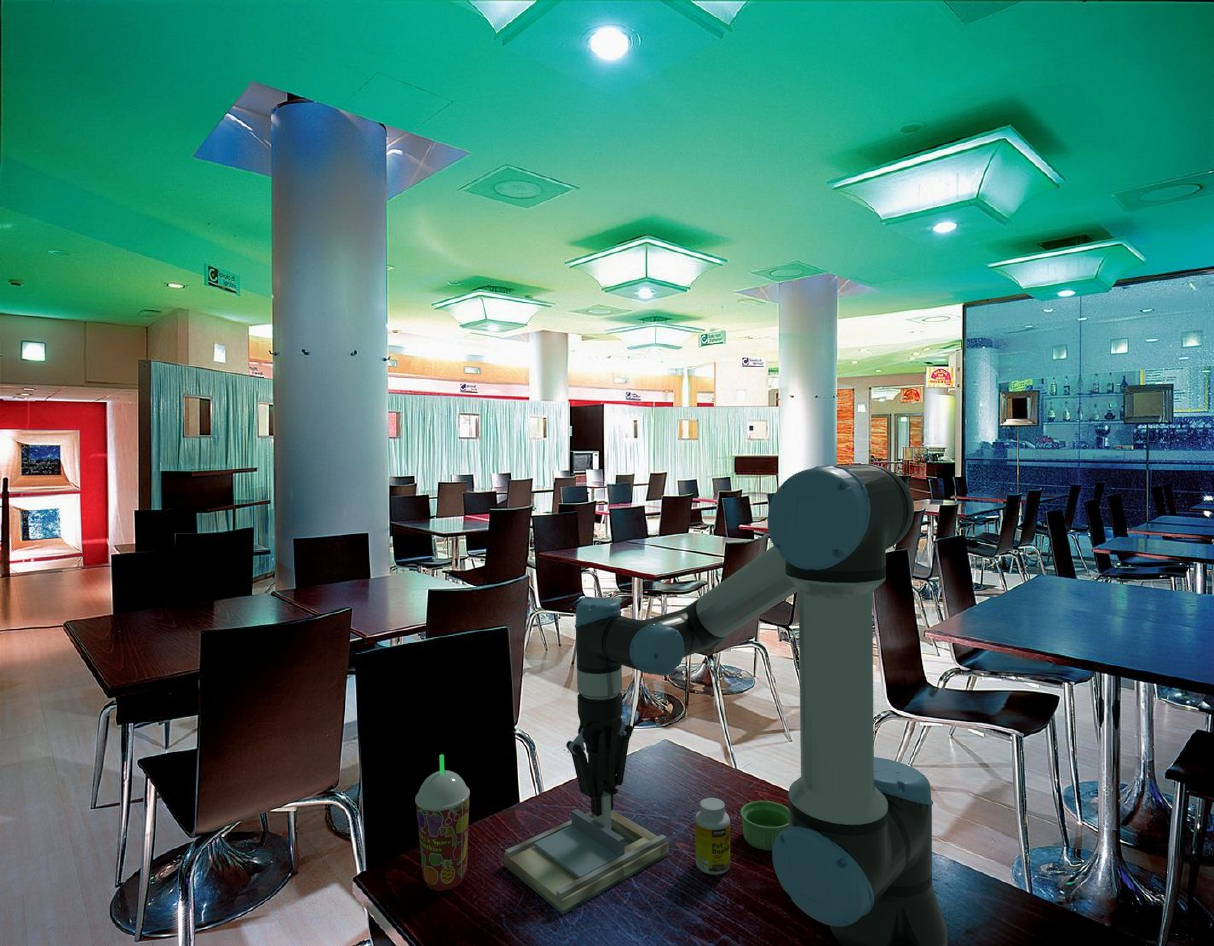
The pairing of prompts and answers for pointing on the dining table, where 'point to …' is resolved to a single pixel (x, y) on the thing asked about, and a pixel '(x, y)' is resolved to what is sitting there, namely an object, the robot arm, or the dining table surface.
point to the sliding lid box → (573, 891)
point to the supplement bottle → (712, 837)
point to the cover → (582, 845)
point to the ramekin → (763, 823)
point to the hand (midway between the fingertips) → (602, 830)
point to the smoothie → (443, 828)
